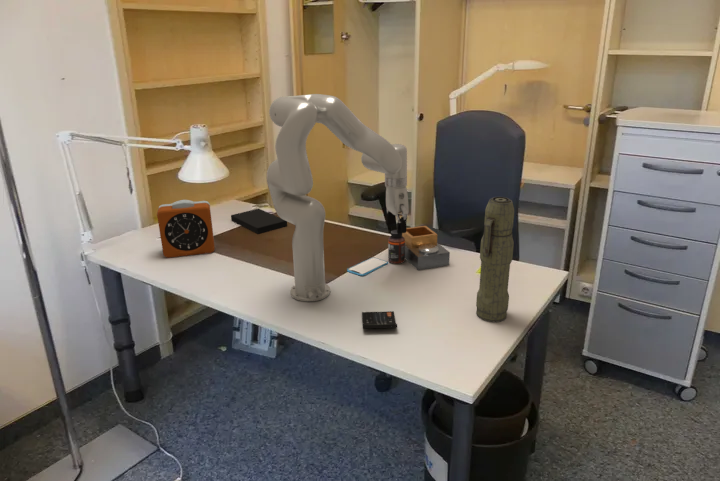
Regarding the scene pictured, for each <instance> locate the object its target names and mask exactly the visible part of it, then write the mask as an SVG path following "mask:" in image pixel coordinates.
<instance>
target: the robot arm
mask: <svg viewBox="0 0 720 481" xmlns="http://www.w3.org/2000/svg"><path fill="white" fill-rule="evenodd" d="M268 112H269V117H270V120H271V121H272V123H273V124H275V125H276V126H278V127H280V128H281V129H280V131H279V132H278V134H277V137H276V140H275V155H276V159H275V160H273V161H272V162H271V163H270V164H269V165H268V166H267V167H268V168H267V171H266V183H267V187H268V191H269V193H270V197H271V201H272V204H273V207H274V210H275V212H276V214H277V217H279V218H281V219H283V220H285V221H287V223H289V224H292V225H294V232H293V235H292V239H291V240H292V241H291V245H292V246H291V247H292V248H291V249H292V261H293V275H294V276H293V277H294V278H293V279H294V285H293V286H292V287H291V288H290V290H289V291H290V296H291V297H292V298H293V299H294V300H297V301H301V302H317V301H320V300H323V299H325V298H327V297H328V296H329V295H331V294H330V293H331V286H329V285H328V284H327V283H326V276H325V275H326V273H325V270H326V269H325V251H324V250H325V249H324V227H325V223H326V222H325V221H326V210H325V207H324V205H323V204H322V202H321V201H319V200H317V199H316V198H314V197H311V196H308V194H310V192H311V191H312V189H313V186H314V180H313V174H312V170H311V165H310V162H309V161H310V160H309V157H308V152H307V147H306V146H307V145H306V144H307V140H308V137H309V135H310V133H311V131H312V130H313V129H314V127H315V125H316V123H317V124H321V125H323V126H325V127H326V128H327V129H328V130H329V131H330V132H331V133H332V134H333V135H335V137H337V139H338V140H339V142H341V143H342V144H343V145H345V146H346V147H348V148H350V149H351V150H354V151H356V152H359V153H361V156H360V157H361V158H360V159H361V164H362V166H364V168H366V169H368V170H370V171H373V172H378V173H381V174H384V187H385V188H386V189H385V207H386V225H388V226H389V225H394V224H396V230H397V233H398V234H401V233H406V228H407V222H408V215H409V197H408V189H407V186H408V161H407V160H408V149H407V147H406V146H405V145H404V144H401V143H400V144H399V143H394V144H393V143H392V144H391V142H389V141H388V140H387V139H386V138H384V137H383V136H382V135H380V134H379V133H377V132H376V131H374V130H373V129H371V128H370V127H369V126H367V125H366V124H364V123H363V122H362V121H361V120H360V119H359V118H358V117H357V116H356V115H355V114H354V113H353V111H352V110H351V109H350V108H349V107H348V106H347V105H346V104H345V103H344V102H343V100H341V99H340V98H338V97H337V96H335V95H329V94H320V93H311V94H301V95H290V96H289V95H288V96H280V97H277V98H276V99H274V101H272V103H271V104H270V106H269V111H268ZM396 220H397V222H396Z"/></svg>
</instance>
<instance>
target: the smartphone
mask: <svg viewBox="0 0 720 481" xmlns="http://www.w3.org/2000/svg"><path fill="white" fill-rule="evenodd" d="M388 264H389V260H388V261H387V260H384V259H381V258H378V257H370V258H368V259H366V260H363V261H361V262H359V263H356V264H355V265H353V266H350V267H347V268H346V270H347V271H346V272H347V273H350V274H352V275H356V276H359V277H366V276H367V275H369V274H371V273H373V272H375V271H377V270H379V269H381V268H382V267H384V266H386V265H388Z"/></svg>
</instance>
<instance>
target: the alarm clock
mask: <svg viewBox="0 0 720 481" xmlns="http://www.w3.org/2000/svg"><path fill="white" fill-rule="evenodd" d="M156 216H157V218H156V219H157V222H158V229H159V236H160V242H161V248H162V254H163V256H164V258H168V259H170V258H177V257H185V256H186V257H187V256H193V255H194V256H195V255H204V254H205V255H206V254H211V253H213V252H215V238H214V230H213V220H212V212H211V204H210V202H209V201H207V200H200V201H193V200H191V199H181V200H177V201H174V202H172V203H165V204H161V205H159V206H158V208H157V213H156Z"/></svg>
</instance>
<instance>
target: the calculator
mask: <svg viewBox="0 0 720 481" xmlns="http://www.w3.org/2000/svg"><path fill="white" fill-rule="evenodd" d="M361 320H362V322H361V323H362V328H363V329H381V328H382V329H388V328H389V329H390V328H398V323H396V317H395V312H394V311H393V310H391V311H390V310H389V311H361Z"/></svg>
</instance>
